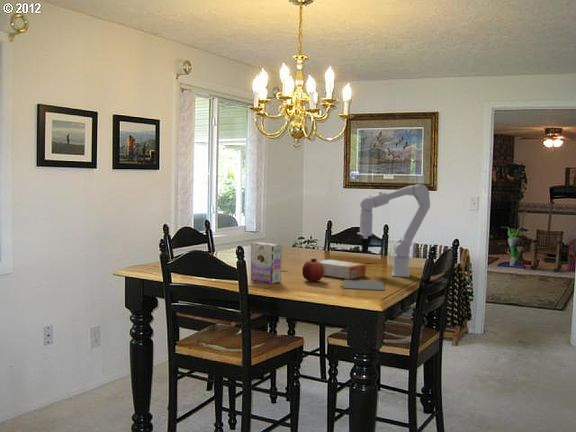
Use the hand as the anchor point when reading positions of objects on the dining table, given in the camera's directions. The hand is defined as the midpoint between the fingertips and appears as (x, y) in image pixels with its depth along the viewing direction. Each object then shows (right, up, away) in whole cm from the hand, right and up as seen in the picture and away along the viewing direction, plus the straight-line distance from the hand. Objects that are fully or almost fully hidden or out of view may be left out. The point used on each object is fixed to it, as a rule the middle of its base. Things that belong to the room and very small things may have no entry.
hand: (365, 252), depth 288 cm
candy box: (-46, -11, -24) cm, 53 cm away
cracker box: (-4, -8, -11) cm, 15 cm away
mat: (-4, -12, -27) cm, 30 cm away
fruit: (-26, -12, -22) cm, 36 cm away
